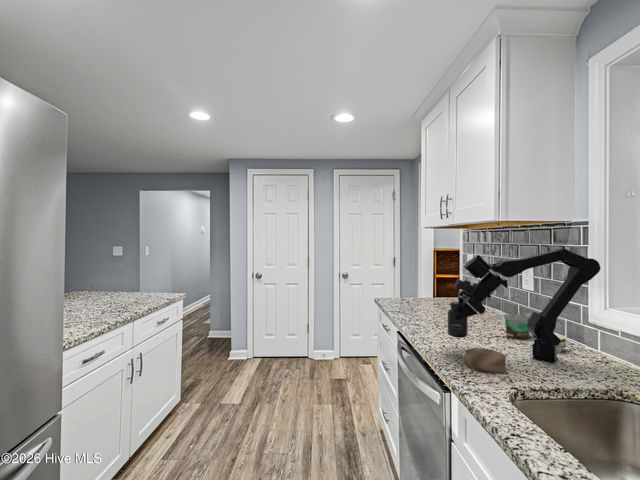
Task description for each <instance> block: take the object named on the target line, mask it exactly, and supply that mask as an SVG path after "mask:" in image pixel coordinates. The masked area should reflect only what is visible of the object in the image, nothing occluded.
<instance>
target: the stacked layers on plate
mask: <svg viewBox="0 0 640 480" xmlns="http://www.w3.org/2000/svg"><path fill="white" fill-rule="evenodd" d="M555 335H556V336H557V337H558V338H559V339H560V340H561V341H560V343H559V345H557V354H561V353H562V350H563V349H566V348H567V347H568V345H567V341H568V340H567V336H565V335H562V334H561V335H560V334H555Z"/></svg>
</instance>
